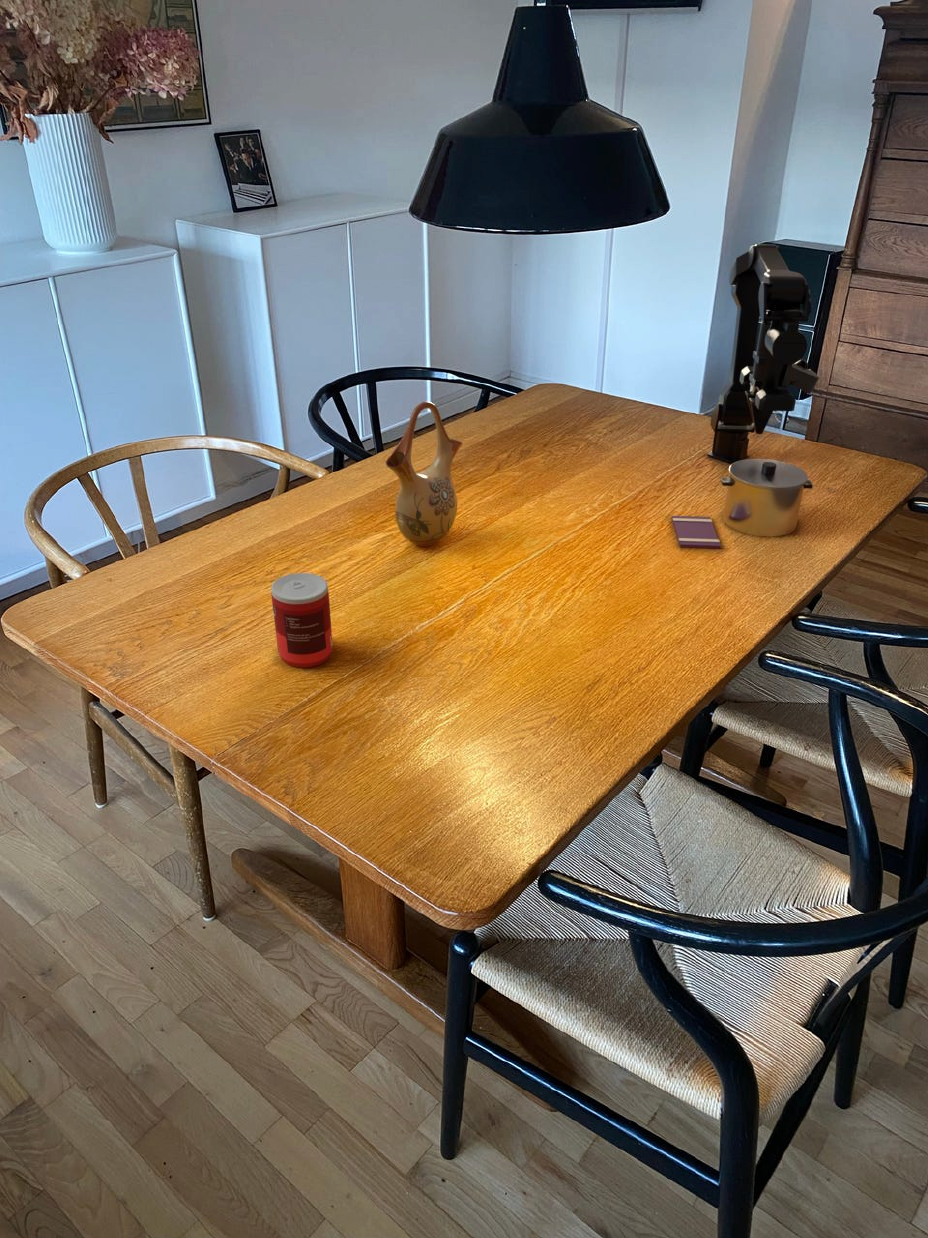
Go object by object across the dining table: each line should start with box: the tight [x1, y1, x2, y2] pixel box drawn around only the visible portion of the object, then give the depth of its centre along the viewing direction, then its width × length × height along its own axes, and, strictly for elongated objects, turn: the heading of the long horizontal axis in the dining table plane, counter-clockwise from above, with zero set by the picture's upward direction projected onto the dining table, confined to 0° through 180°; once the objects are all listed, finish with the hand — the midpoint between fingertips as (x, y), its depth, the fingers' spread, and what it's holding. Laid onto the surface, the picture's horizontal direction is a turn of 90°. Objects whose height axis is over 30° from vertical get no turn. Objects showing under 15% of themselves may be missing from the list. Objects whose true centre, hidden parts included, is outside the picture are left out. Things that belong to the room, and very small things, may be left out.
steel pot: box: [719, 458, 814, 538], centre depth 168 cm, size 14×16×11 cm
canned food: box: [270, 572, 334, 669], centre depth 129 cm, size 8×8×11 cm
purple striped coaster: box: [671, 515, 722, 550], centre depth 166 cm, size 12×7×1 cm, turn 176°
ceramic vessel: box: [385, 401, 463, 547], centre depth 157 cm, size 16×9×25 cm, turn 136°
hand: (758, 433), depth 173 cm, fingers closed
